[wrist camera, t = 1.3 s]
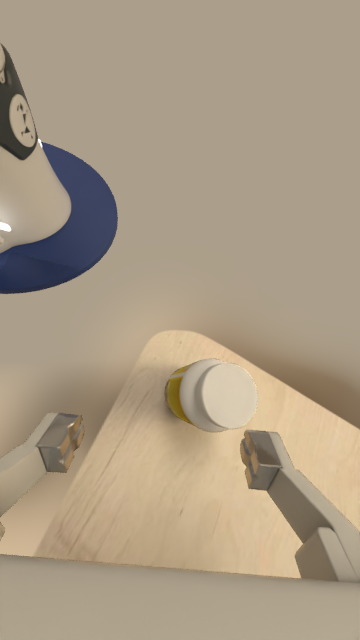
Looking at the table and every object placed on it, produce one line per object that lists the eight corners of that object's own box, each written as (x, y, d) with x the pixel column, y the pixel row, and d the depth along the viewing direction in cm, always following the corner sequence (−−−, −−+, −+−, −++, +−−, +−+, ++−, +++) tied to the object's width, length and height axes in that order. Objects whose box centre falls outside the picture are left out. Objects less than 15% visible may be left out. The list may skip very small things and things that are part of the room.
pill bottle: (195, 430, 23) (248, 462, 13) (153, 400, 23) (174, 409, 13) (219, 384, 26) (278, 382, 16) (181, 357, 26) (216, 337, 16)
